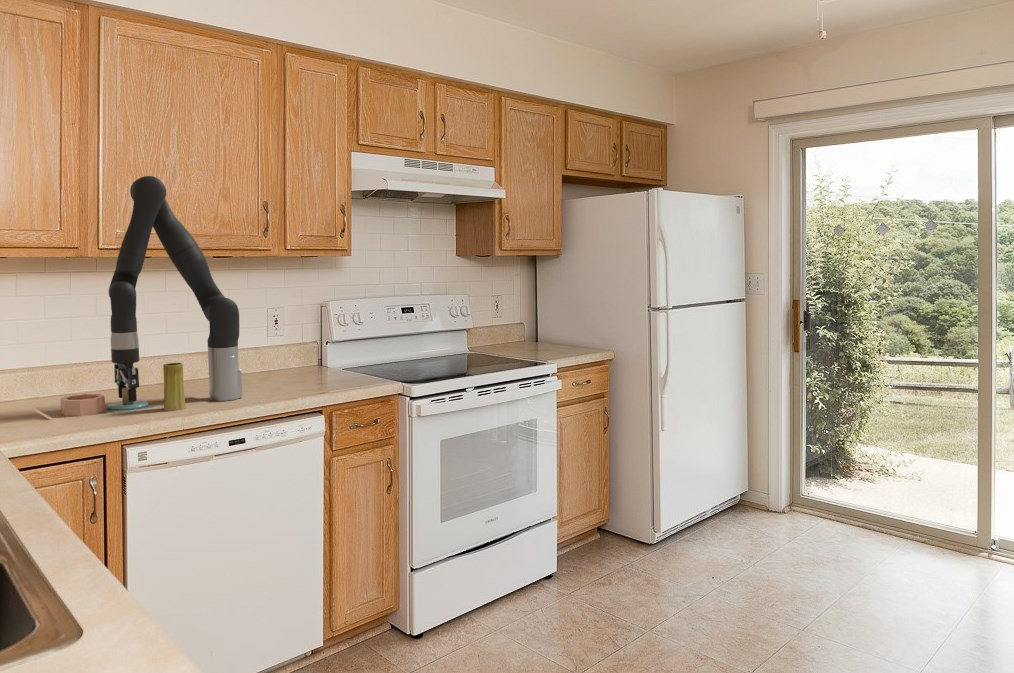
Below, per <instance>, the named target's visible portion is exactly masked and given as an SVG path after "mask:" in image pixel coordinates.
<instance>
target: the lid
mask: <svg viewBox="0 0 1014 673" xmlns="http://www.w3.org/2000/svg"><path fill="white" fill-rule="evenodd" d="M121 400H122V401H119V402H118V401H117V402H113V403H110V404H108V405H107V406H108V409H109V410H130V411H134V410H133V409H138V410H141V409H140V408H144V407H147V406H148V404H149V402H148V401H145V400H136V401H134V402H129V401H128V389H127V387H125V388H122V398H121Z"/></svg>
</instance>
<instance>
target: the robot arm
mask: <svg viewBox="0 0 1014 673" xmlns="http://www.w3.org/2000/svg"><path fill="white" fill-rule="evenodd" d="M129 188H130V189H129V190H130V191H129V192H130V198H131V199H132V201H133V205H132V207H133V208H132V213H131V217H130V220H129V224H128V227H127V229H126V232H125V234H124V236H123V238H122V242H121V245H120V248H119V252H118V256H117V259H116V265H115V270H114V272H113V275H112V277H111V278H112V279H111V281H110V284H109V287H108V296H109V298H110V309H111V316H110V354H111V355H110V357H111V363H113V364H114V365H113V367H114V370H113V372H114V383H115V384H116V386H117V389H118V390H117V392H118V398H119V399H122V388H125V387H127V389H128V401H129V402H134V401H138V400H137V399H138V398H137V389H138V388H140V378H139V377H140V376H139V367H134V364H135V363H138V362H140V343H139V336H138V321H137V315H136V313H137V290H136V286H137V283H138V279H139V275H140V274H141V272H142V269H143V267H144V266H143V265H144V263H145V259H146V255H147V250H148V246H149V241H150V237H151V233H152V231H153V229H154V231H155V233H156V236H157V237H158V239H159V241H160V243H161V244H162V246H163V248H164V250H165V252H166V254H167V256H168V257H169V259H170V261H171V262H172V264H173V265H174V267H175V268H176V270H177V272H178V273H179V274H180V276H181V277H182V278H183V280H184V281H185V283H186V284H187V285H188V286H189V288H190V289H191V291H192V293H193V295H194V296H195V298H196V300H197V302H198V304H199V306H200V308H201V311H202V313H203V315H204V317H205V318H206V320H207V321H208V322H209V334H208V335H209V336H208V337H207V359H208V363H207V364H208V383H209V384H208V387H209V388H208V389H209V400H210V401H213V402H214V401H216V402H219V401H220V402H223V401H226V402H227V401H233V400H237V399H240V398H241V399H242V398H243V378H242V375H243V374H242V369H241V368H240V366H239V364H240V362H239V338H240V311H239V306H238V305H237V303H236V302H235V300H233V299H230V298H227V297H226V296H225V295H224V294H223V293H222V291H221V290H220V289H219V287H218V285H217V283H216V282H215V281H214V279H213V277H212V276H213V275H212V273H211V271H210V270H211V269H210V267H209V265H208V262H207V259H206V256H205V255H204V252H203V251H202V250H201V248H200V246H199V244H198V243H197V241H196V240H195V238H194V237H193V235H192V234H191V233H190V232H189V231H188V229H187V228H186V227H185V226H184V225H183V224H182V223H181V221H179V219H178V218H177V217H176V216H175V214H174V212H173V211H172V208H171V207H170V205H169V203H168V201H167V199H166V197H167V188H166V186H165V184H164V183H163V181H162V180H161V179H159V178H158V177H155V176H153V175H146V176H145V175H144V176H141V177H139V178H137V179H135V181H133V182H132V183H131V186H130V187H129Z"/></svg>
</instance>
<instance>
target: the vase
mask: <svg viewBox="0 0 1014 673" xmlns="http://www.w3.org/2000/svg"><path fill="white" fill-rule="evenodd" d="M162 370H163V407H164V408H163V410H164V411H166V412H177V411H184V410H186V409H187V408H186V407H187V406H186V398H185V397H186V396H185V388H184V387H185V386H184V366H183V363H182V362H169V363H164V364H163V369H162Z"/></svg>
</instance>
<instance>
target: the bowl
mask: <svg viewBox="0 0 1014 673" xmlns="http://www.w3.org/2000/svg"><path fill="white" fill-rule="evenodd" d="M105 406H106V397H105V395H103V394H101V393H83V394H75V395H69V396H65V397H61V398H60V411H61V415H63V416H65V417H83V416H91V415H97V414H101V413H103V412H105V411H106V409H105Z"/></svg>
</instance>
